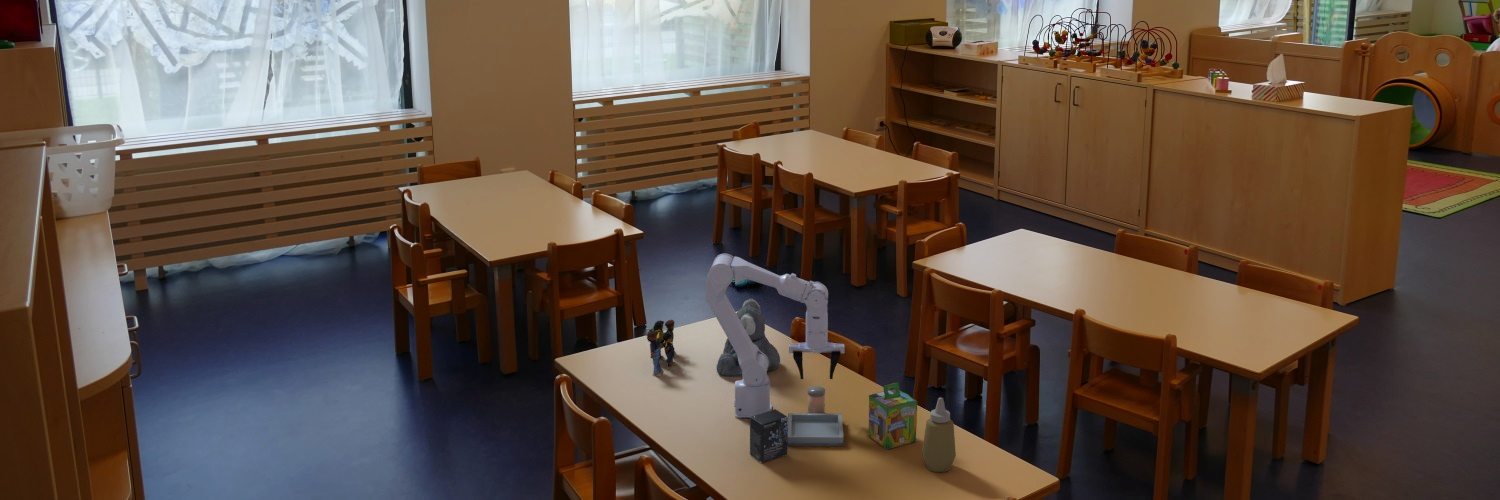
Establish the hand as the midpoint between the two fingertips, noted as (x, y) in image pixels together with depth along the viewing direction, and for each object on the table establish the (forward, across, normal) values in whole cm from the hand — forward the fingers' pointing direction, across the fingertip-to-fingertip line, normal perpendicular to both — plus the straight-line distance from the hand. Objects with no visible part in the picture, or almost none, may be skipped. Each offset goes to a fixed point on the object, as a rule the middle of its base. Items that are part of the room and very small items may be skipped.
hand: (816, 377), depth 309 cm
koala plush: (+11, -19, +32) cm, 39 cm away
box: (+11, -12, -24) cm, 29 cm away
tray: (+10, 0, -12) cm, 16 cm away
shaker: (+10, 0, 0) cm, 10 cm away
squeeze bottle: (+10, +29, -30) cm, 43 cm away
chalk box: (+11, +19, -15) cm, 26 cm away
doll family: (+11, -45, +34) cm, 57 cm away
